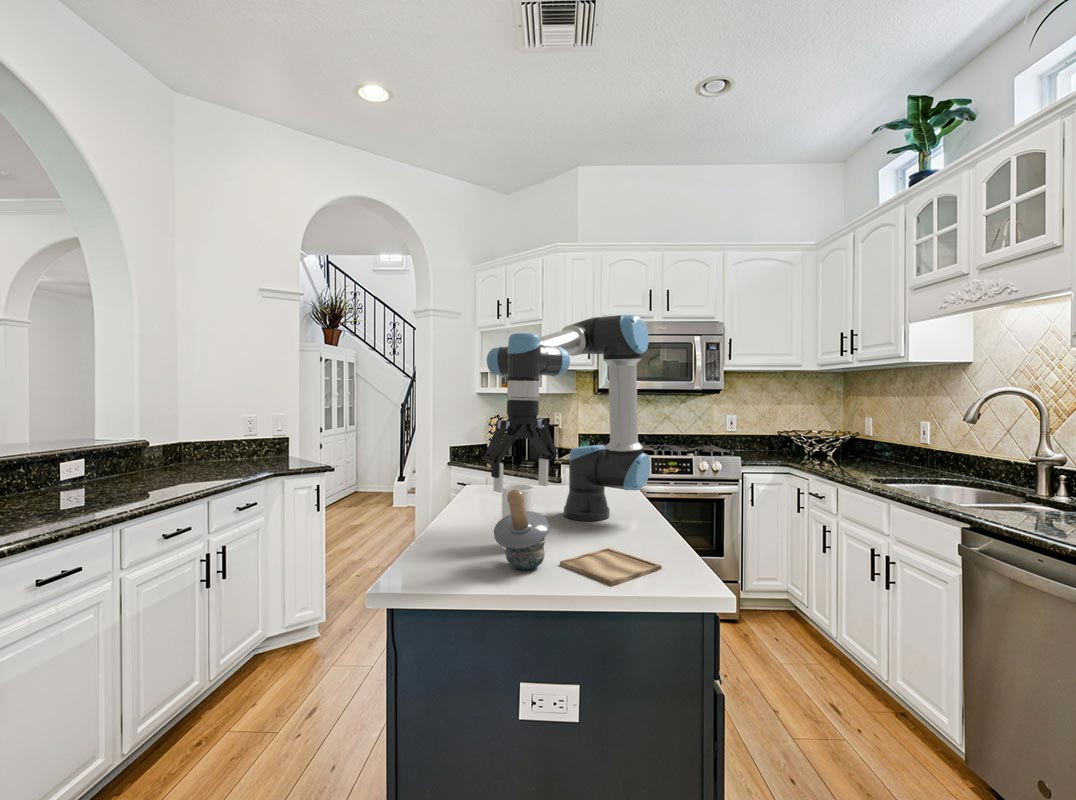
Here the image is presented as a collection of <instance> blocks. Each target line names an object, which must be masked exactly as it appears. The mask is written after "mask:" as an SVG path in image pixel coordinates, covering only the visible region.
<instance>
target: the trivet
mask: <svg viewBox="0 0 1076 800" xmlns="http://www.w3.org/2000/svg"><path fill="white" fill-rule="evenodd" d="M559 566H561V567H564V568H566V569H570V570H571V571H575V572H577V573H579V574H582V575H585V576H587V577H589V578H592V579H594V580H598V581H600V582H602V583H605V584H607V585H610V586H613V587H614V586H617V585H619V584H622V583H625V582H629V581H632V580H634V579H637V578H640V577H642V576H645V575H649V574H651V573H654V572H657V570H658V571H660V569H661V570H662V569H663V568H662V567H663V565H662V564H659V563H656V562H653V561H649V560H646V559H645V558H644V559H643V558H639V557H637V556H635V555H631V554H627V553H624V552H621V551H618V550H616V549H613V548H610V547H608V548H607V547H606V548H604V549H600V550H597V551H593V552H592V551H591V552H590V553H585V554H582V555H578V556H574V557H570V558H567V559H563V560H561V561H559Z"/></svg>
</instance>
